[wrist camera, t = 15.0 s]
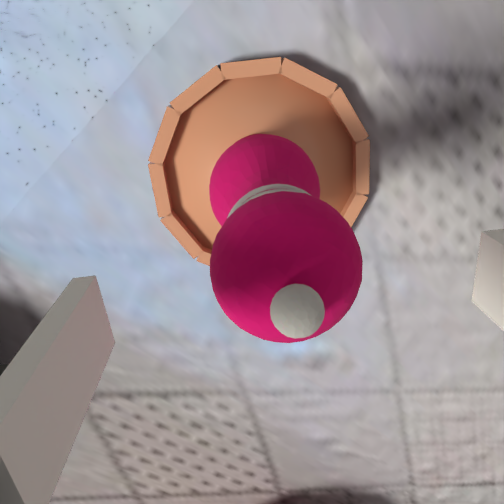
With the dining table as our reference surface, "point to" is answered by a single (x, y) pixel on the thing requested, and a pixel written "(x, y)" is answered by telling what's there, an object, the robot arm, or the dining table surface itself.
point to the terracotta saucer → (248, 123)
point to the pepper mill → (279, 243)
